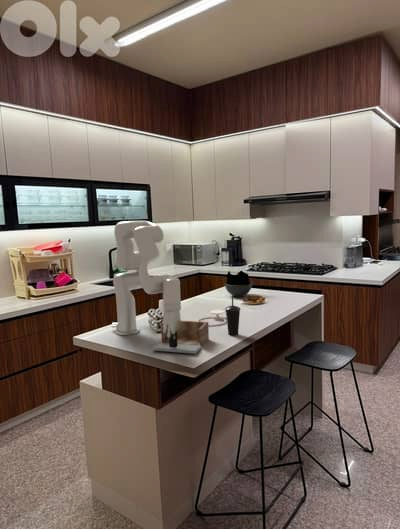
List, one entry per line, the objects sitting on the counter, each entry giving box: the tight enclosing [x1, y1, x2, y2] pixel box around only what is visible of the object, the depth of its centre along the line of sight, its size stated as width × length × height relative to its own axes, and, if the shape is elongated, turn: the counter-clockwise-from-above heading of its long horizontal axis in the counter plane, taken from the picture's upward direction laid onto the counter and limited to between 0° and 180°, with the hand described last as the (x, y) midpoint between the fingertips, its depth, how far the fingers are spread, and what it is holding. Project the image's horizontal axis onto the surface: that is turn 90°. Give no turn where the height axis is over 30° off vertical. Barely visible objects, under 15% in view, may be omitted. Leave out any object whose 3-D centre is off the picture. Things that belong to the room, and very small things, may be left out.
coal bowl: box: [224, 270, 253, 298], centre depth 270 cm, size 20×20×19 cm
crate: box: [160, 319, 210, 348], centre depth 176 cm, size 20×11×9 cm, turn 73°
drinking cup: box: [224, 295, 241, 337], centre depth 184 cm, size 8×8×20 cm
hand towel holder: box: [196, 309, 227, 327], centre depth 210 cm, size 17×4×20 cm
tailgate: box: [151, 342, 202, 355], centre depth 165 cm, size 20×1×9 cm
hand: (173, 346), depth 162 cm, fingers closed
